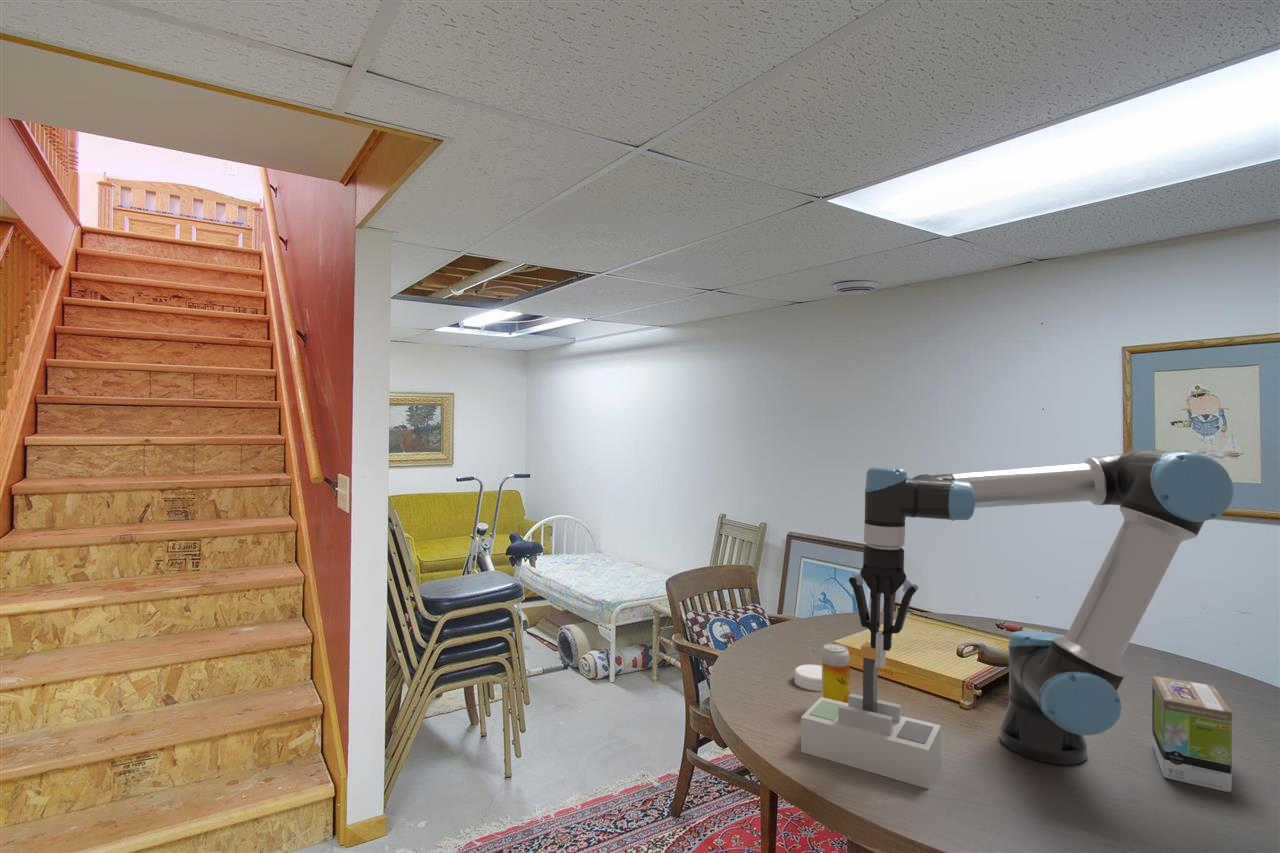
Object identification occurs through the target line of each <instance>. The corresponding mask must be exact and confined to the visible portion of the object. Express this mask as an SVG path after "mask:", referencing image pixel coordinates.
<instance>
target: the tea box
mask: <svg viewBox="0 0 1280 853" xmlns="http://www.w3.org/2000/svg"><path fill="white" fill-rule="evenodd" d="M1151 686H1152V689H1151V690H1152V705H1151V706H1152V708H1151V709H1152V711H1151V712H1152V714H1151V716H1152V717H1151V719H1152V720H1151V725H1152V726H1151V727H1152V728H1151V739H1152V740H1151V743H1152V744H1151V745H1152V747H1153V751H1154V753H1155V756H1156V760H1157V762H1158V766H1159V768H1160V771H1161V774H1162V777H1163V778H1165V779H1168V780H1172V781H1177V782H1180V783H1186V784H1189V785H1193V786H1197V787H1198V786H1199V787H1203V788H1206V789H1207V788H1208V789H1211V790H1216V791H1221V792H1225V793H1231V791H1232V789H1233V788H1232V784H1233V783H1232V781H1233V780H1232V778H1233V777H1232V775H1233V772H1232V766H1233V764H1232V763H1233V758H1232V757H1233V754H1232V753H1233V751H1232V750H1233V712H1232V710H1231V709H1230V707H1229V705H1228V704H1227V703H1226V701H1225V700H1224V699H1223V697H1222V696H1221V694H1220V693H1219V691H1218V689H1216V687H1215V686H1214V685H1210V684H1204V683H1199V682H1194V681H1186V680H1181V679H1175V678H1168V677H1162V676H1155V675H1154V676H1152V685H1151Z"/></svg>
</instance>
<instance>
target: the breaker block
mask: <svg viewBox="0 0 1280 853" xmlns="http://www.w3.org/2000/svg"><path fill="white" fill-rule="evenodd" d="M800 752H801V753H804V754H806V755H807V754H808V755H811V756H814V757H818V758H821V759H824V760H828V761H831V762H833V763H834V762H835V763H837V764H841V765H846V766H847V767H852V768H856V769H857V770H858V769H859V770H861V771H865V772H869V773H872V774H875V775H876V774H877V775H879V776H883V777H886V778H889V779H894V780H896V781H900V782H903V783H906V784H910V785H914V786H917V787H920V788H924V789H926V790H930V787H931V785H932V782H933V781H934V778H935V776H936V774H937V772H938V770H939V768H940V765H941V762H942V725H941V724H937V723H933V722H929V721H924V720H920V719H915V718H912V717H907V716H903V715H902V704H899V703H895V702H890V701H887V700H882V699H877V713H874V712H870V711H866V710H863V695H860V694H855V693H850V695H849V696H848V703H844V702H840V701H836V700H832V699H827V698H823V697H822V696H821V697H819V698H818V700H816V701H815V703H814V704H813V705H811V706H810V707H809V708H808V709H807V710H806V711H805V712H804V714H802V715H801V717H800Z"/></svg>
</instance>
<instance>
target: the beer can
mask: <svg viewBox="0 0 1280 853" xmlns="http://www.w3.org/2000/svg"><path fill="white" fill-rule="evenodd" d="M821 666H822V691H821V697H823V698H827V699H832V700H836V701H840V702H844V703H848V696H849V695H850V694H851V692H850V689H851V688H850V652H849V650H848V647H847V646H846V645H843V644H839V643H827V644H824V645H823V647H822V650H821Z"/></svg>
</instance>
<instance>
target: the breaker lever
mask: <svg viewBox="0 0 1280 853" xmlns="http://www.w3.org/2000/svg"><path fill="white" fill-rule="evenodd" d="M860 658H863V659H862V661H863V662H862V696H863V710H866V711H870V712H874V713H877V700H878V674H879V673H878V668H879V667H875V659H876V648H873V647H871V641H870V642H869V641H865V642H864V643H863V644H861V646H860Z"/></svg>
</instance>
